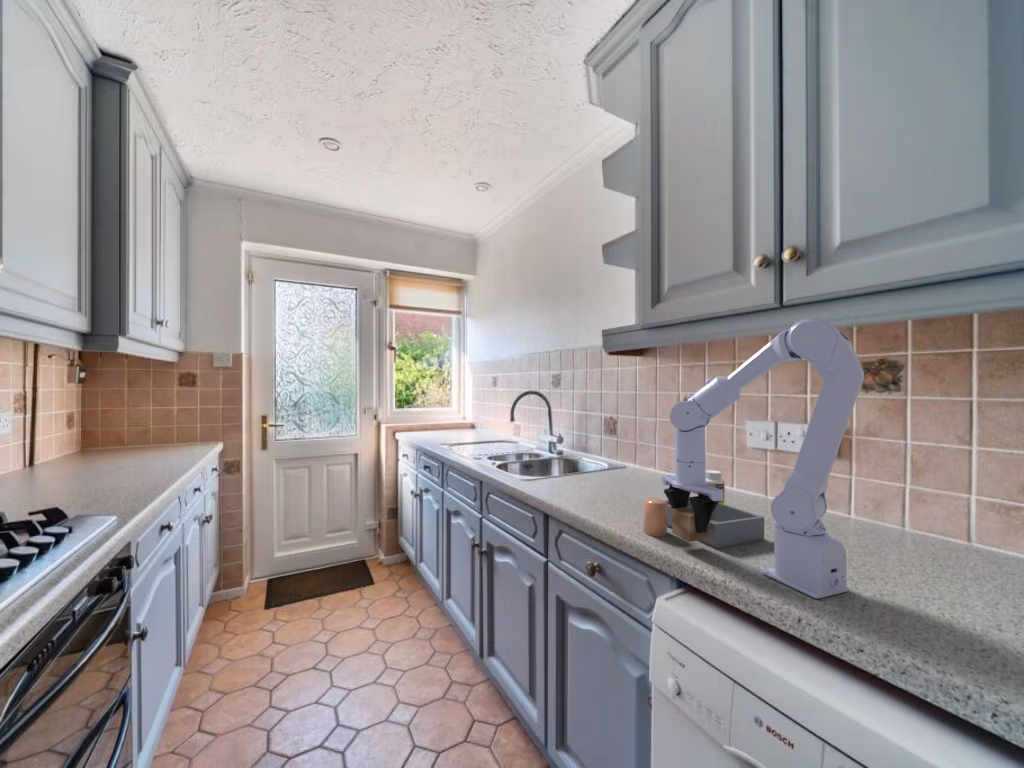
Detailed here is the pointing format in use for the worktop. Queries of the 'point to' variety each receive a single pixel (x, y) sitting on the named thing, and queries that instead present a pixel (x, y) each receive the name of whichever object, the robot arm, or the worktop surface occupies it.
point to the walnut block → (687, 525)
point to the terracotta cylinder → (655, 517)
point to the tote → (729, 526)
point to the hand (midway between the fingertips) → (690, 527)
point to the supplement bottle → (715, 481)
